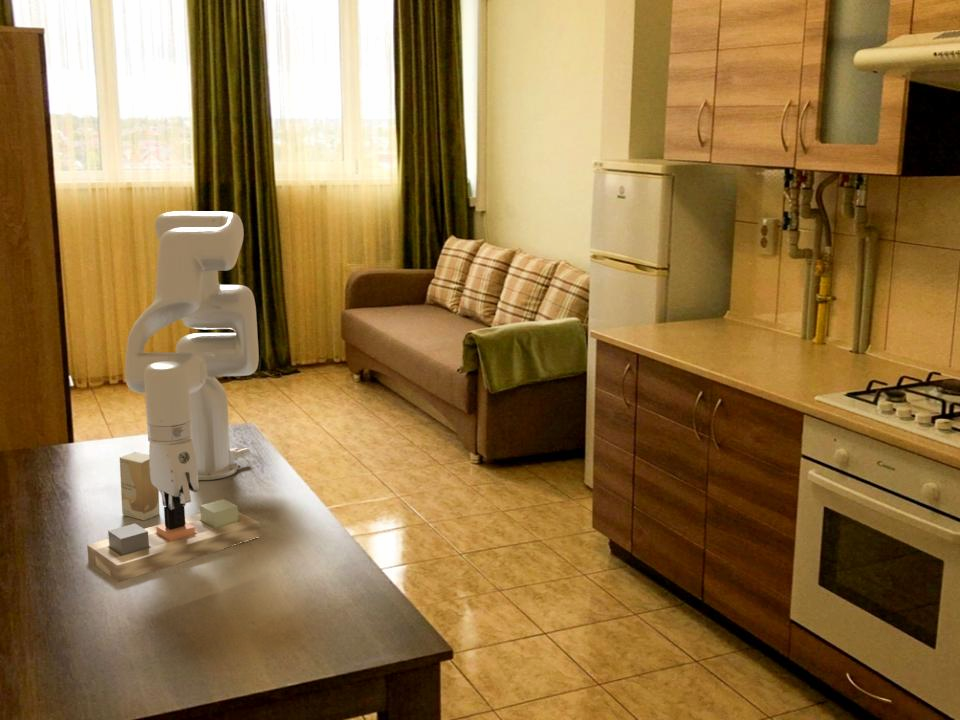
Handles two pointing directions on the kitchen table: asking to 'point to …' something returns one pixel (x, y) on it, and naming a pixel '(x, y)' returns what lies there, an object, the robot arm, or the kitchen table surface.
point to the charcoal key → (128, 539)
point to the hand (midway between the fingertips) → (175, 526)
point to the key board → (171, 547)
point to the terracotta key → (175, 532)
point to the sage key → (219, 513)
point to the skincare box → (138, 487)
